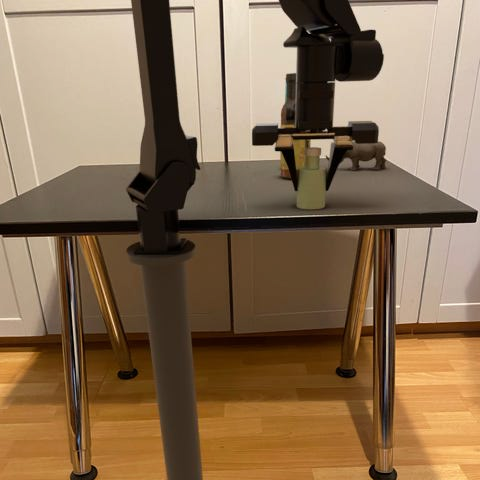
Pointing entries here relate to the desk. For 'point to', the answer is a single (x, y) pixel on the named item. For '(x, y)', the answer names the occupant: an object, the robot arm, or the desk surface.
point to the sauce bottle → (298, 144)
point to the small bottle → (311, 181)
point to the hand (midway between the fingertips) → (311, 190)
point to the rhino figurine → (366, 154)
